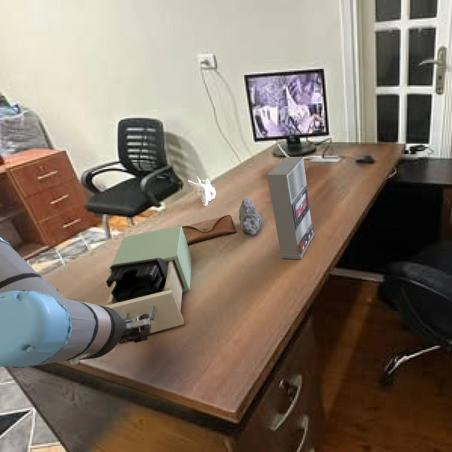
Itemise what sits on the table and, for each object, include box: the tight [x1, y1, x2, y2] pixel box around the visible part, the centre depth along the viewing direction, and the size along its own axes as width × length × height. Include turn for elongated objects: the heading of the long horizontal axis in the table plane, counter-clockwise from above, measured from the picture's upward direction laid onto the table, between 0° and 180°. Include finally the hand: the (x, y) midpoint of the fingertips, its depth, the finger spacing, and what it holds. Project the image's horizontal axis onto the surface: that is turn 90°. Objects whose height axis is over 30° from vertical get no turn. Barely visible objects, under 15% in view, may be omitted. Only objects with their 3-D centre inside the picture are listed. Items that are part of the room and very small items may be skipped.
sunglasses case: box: [181, 214, 237, 246], centre depth 113 cm, size 18×7×7 cm, turn 116°
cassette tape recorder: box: [266, 156, 316, 260], centre depth 97 cm, size 14×6×25 cm, turn 167°
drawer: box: [105, 260, 185, 334], centre depth 78 cm, size 20×14×9 cm
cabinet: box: [108, 224, 193, 294], centre depth 91 cm, size 17×15×11 cm
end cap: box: [105, 258, 167, 303], centre depth 76 cm, size 10×7×7 cm
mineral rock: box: [238, 197, 262, 236], centre depth 113 cm, size 13×11×10 cm
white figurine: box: [187, 175, 217, 207], centre depth 137 cm, size 12×8×10 cm, turn 169°
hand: (142, 333), depth 71 cm, fingers closed
